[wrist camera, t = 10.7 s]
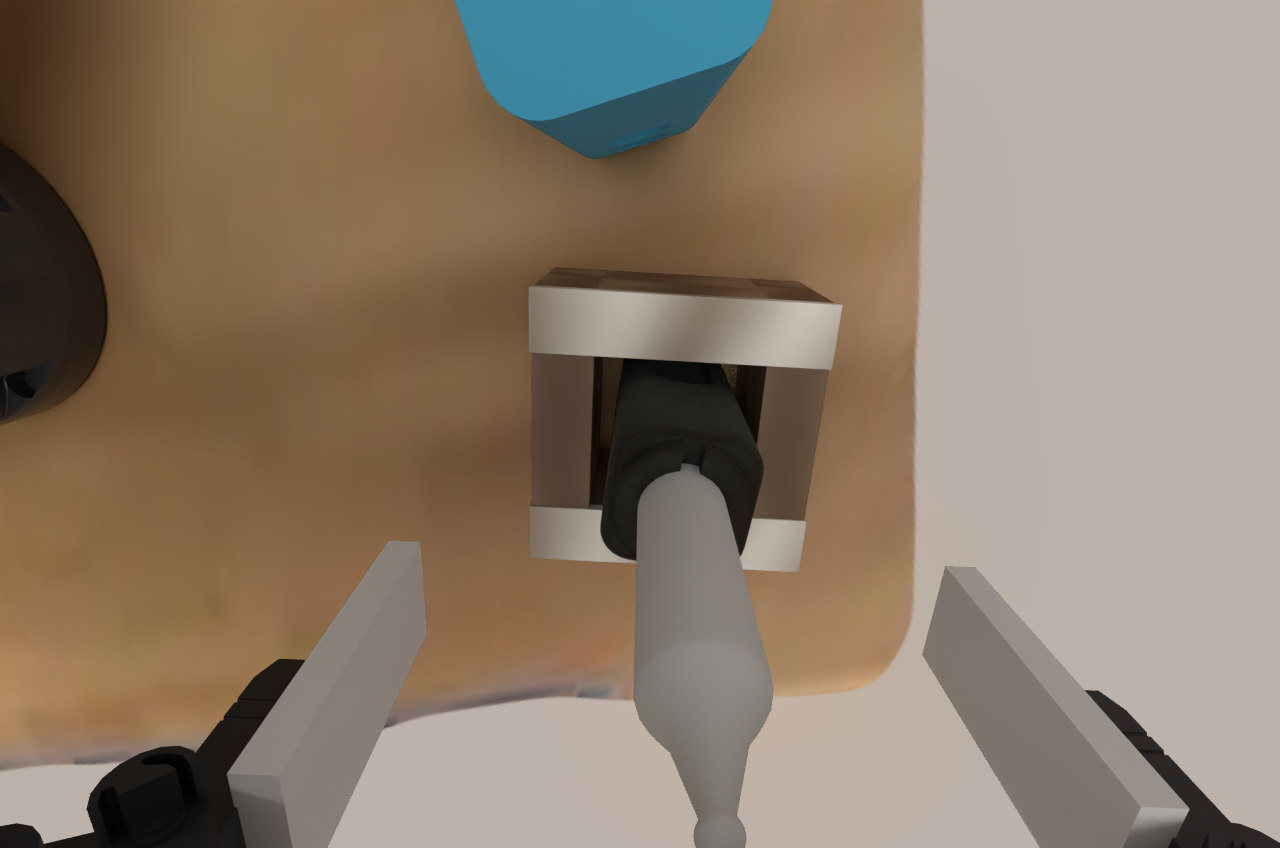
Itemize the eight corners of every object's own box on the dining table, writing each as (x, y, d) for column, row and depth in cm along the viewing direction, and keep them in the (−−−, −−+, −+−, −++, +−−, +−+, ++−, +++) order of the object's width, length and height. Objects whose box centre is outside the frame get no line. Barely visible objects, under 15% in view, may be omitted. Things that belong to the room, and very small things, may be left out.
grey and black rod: (725, 352, 33) (932, 761, 9) (705, 443, 34) (836, 982, 11) (627, 335, 32) (583, 713, 9) (612, 428, 34) (541, 948, 11)
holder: (551, 488, 35) (529, 557, 29) (553, 266, 31) (528, 286, 25) (769, 500, 36) (798, 572, 29) (800, 281, 31) (842, 305, 25)
